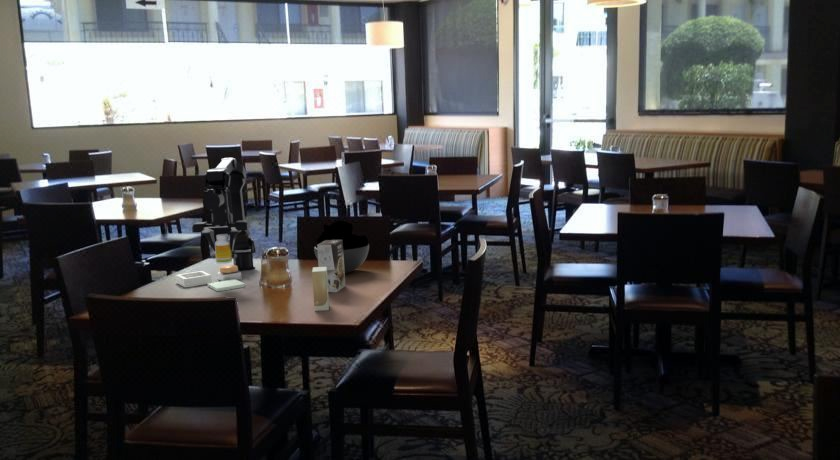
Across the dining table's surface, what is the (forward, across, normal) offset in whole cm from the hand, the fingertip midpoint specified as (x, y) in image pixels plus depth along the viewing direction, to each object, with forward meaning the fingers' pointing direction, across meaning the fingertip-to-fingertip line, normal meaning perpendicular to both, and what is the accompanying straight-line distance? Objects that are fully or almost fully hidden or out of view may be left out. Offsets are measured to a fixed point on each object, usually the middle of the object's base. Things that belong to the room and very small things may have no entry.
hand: (223, 250), depth 262 cm
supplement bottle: (+4, 0, 0) cm, 4 cm away
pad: (+13, 0, 0) cm, 13 cm away
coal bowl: (+13, -39, -14) cm, 44 cm away
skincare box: (+13, -37, +36) cm, 53 cm away
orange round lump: (+12, +2, -12) cm, 17 cm away
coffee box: (+13, -38, +11) cm, 42 cm away
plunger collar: (+13, +2, -12) cm, 17 cm away
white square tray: (+13, +13, -8) cm, 20 cm away
